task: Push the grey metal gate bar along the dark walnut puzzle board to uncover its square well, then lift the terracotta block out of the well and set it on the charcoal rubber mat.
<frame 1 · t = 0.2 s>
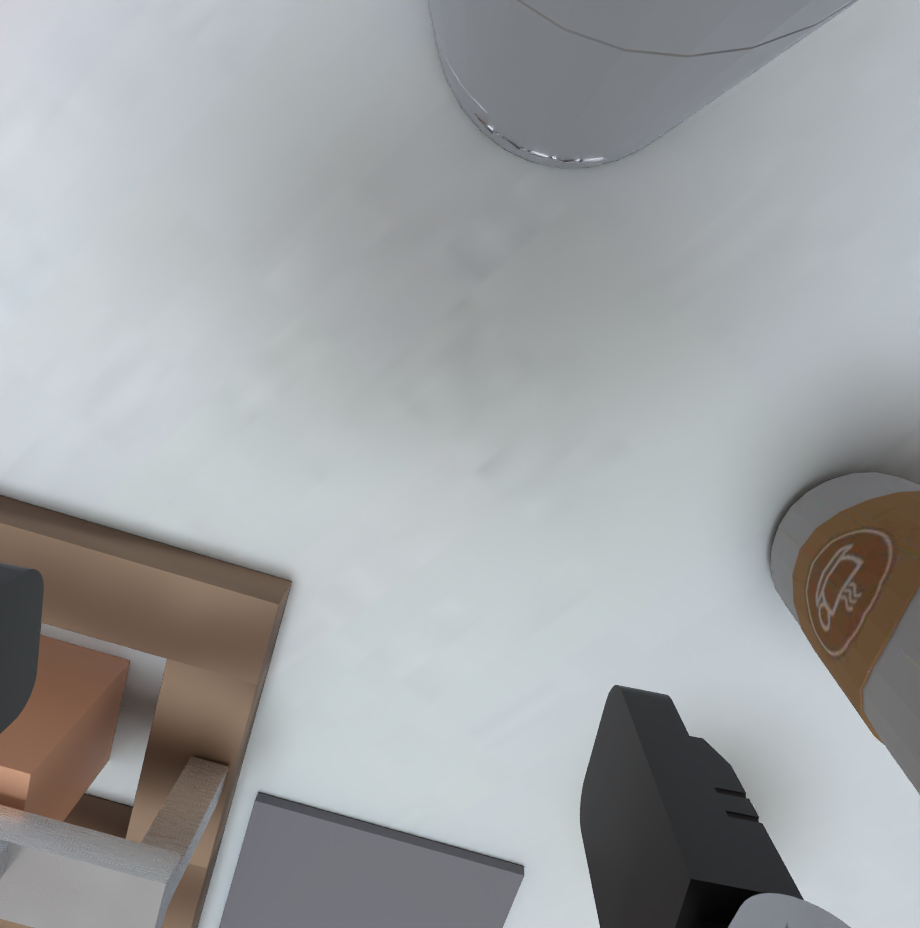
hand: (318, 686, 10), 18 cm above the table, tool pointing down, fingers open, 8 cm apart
coffee cup: (846, 545, 29), on the table
puzzle board: (38, 810, 32), on the table
terracotta block: (61, 694, 31), resting in puzzle board
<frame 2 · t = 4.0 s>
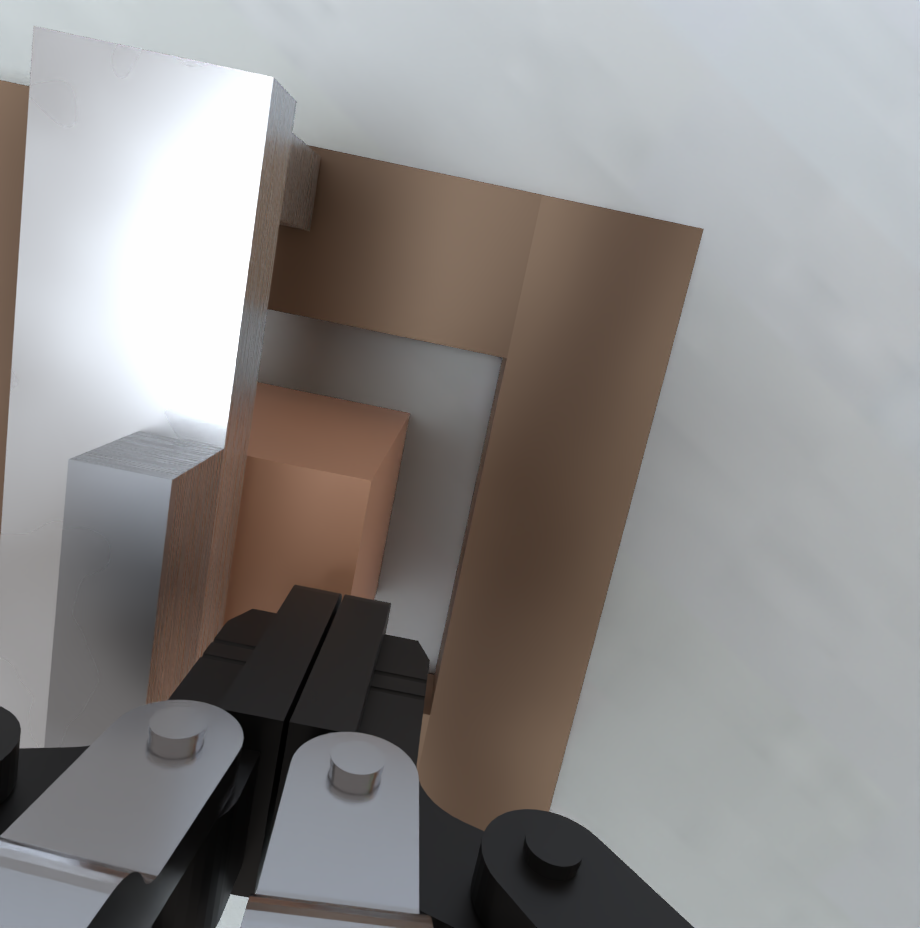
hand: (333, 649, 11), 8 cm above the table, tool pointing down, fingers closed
puzzle board: (69, 441, 19), on the table
metal gate: (162, 567, 13), point 6 cm above the table, slide at 0.9 cm, touching gripper
terracotta block: (298, 486, 19), resting in puzzle board
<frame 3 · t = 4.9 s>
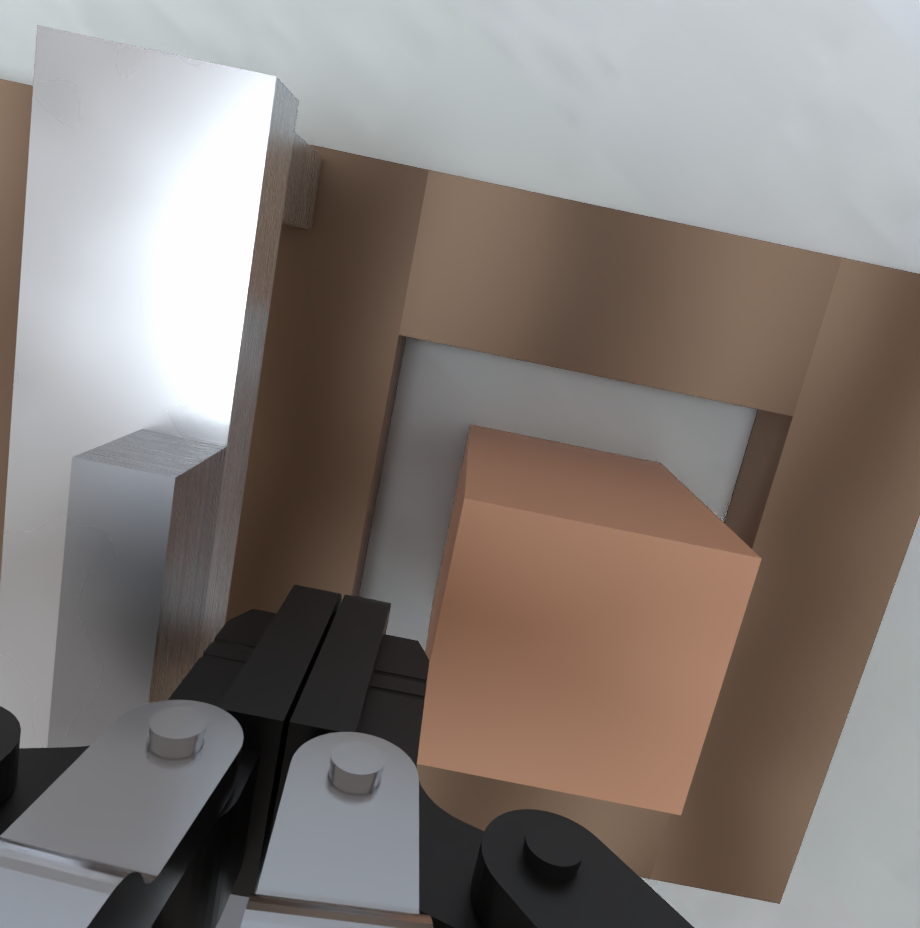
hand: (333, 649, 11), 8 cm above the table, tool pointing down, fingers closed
puzzle board: (319, 490, 19), on the table
metal gate: (164, 565, 13), point 6 cm above the table, slide at 7.5 cm, touching gripper
terracotta block: (543, 534, 20), resting in puzzle board
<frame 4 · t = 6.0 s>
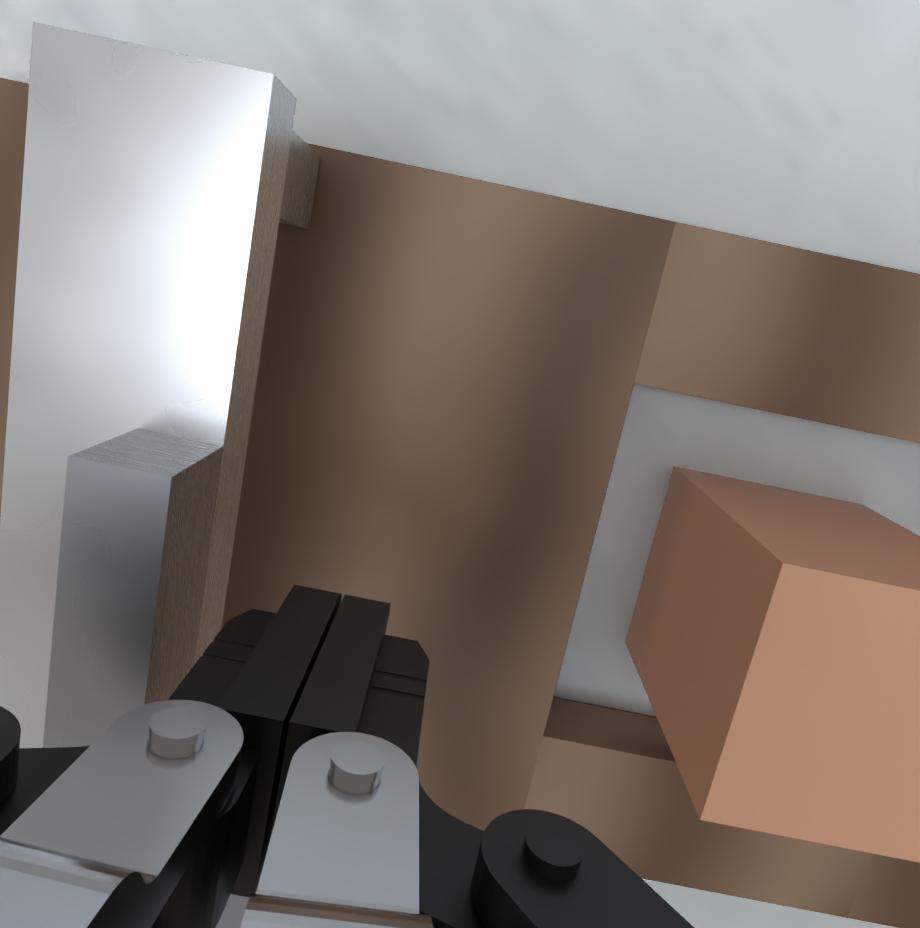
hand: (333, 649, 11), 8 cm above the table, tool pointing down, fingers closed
puzzle board: (519, 531, 19), on the table
metal gate: (161, 565, 13), point 6 cm above the table, slide at 12.8 cm, touching gripper
terracotta block: (740, 574, 20), resting in puzzle board
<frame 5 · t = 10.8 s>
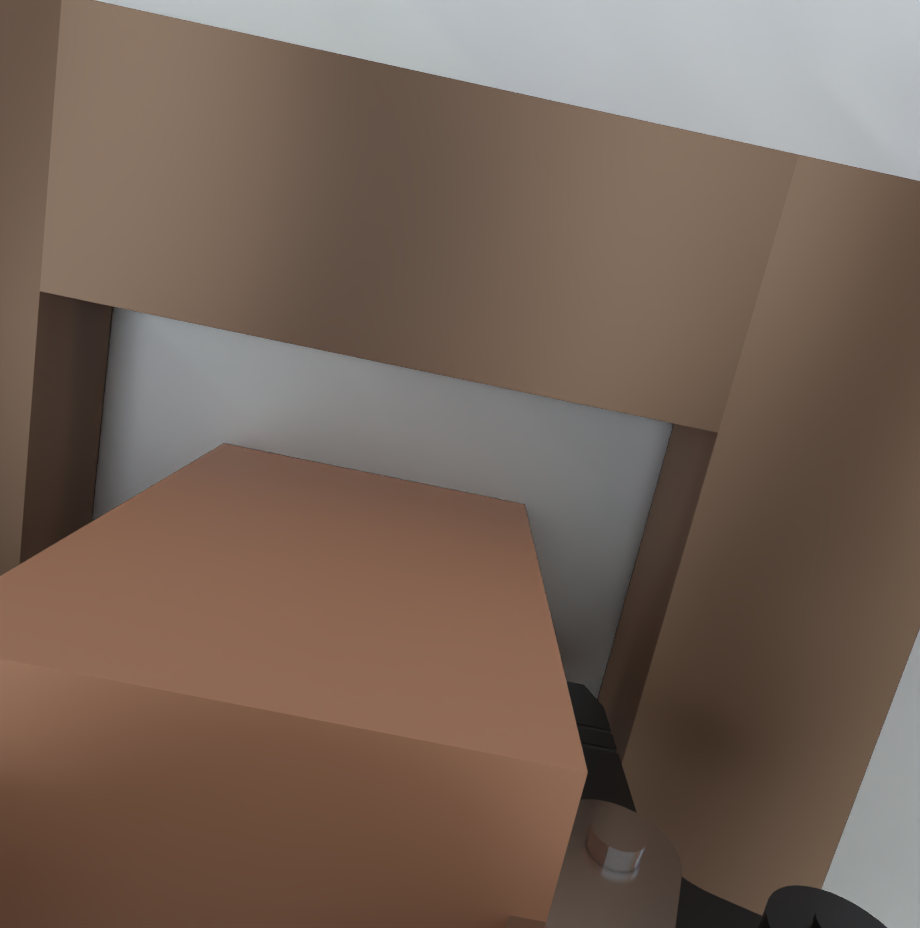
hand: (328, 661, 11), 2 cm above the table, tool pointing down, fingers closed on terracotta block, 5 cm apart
terracotta block: (349, 613, 13), resting in puzzle board, touching gripper
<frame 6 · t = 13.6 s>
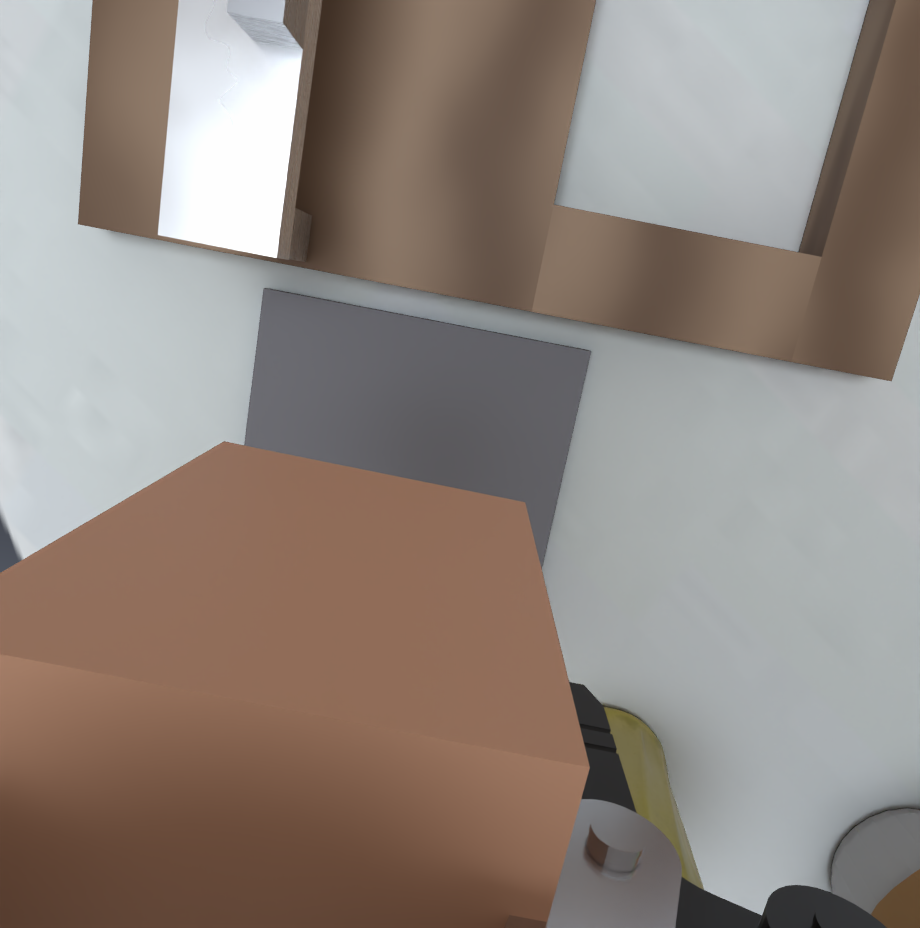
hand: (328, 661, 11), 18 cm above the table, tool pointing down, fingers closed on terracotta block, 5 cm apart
coffee cup: (897, 863, 32), on the table
puzzle board: (533, 65, 25), on the table
charcoal mat: (401, 475, 29), on the table
terracotta block: (349, 611, 13), point 16 cm above the table, touching gripper
vase: (590, 765, 31), on the table
when the fingers open (4 cm above the table, at t = 16.9 s): terracotta block drops 1 cm, resting on charcoal mat.
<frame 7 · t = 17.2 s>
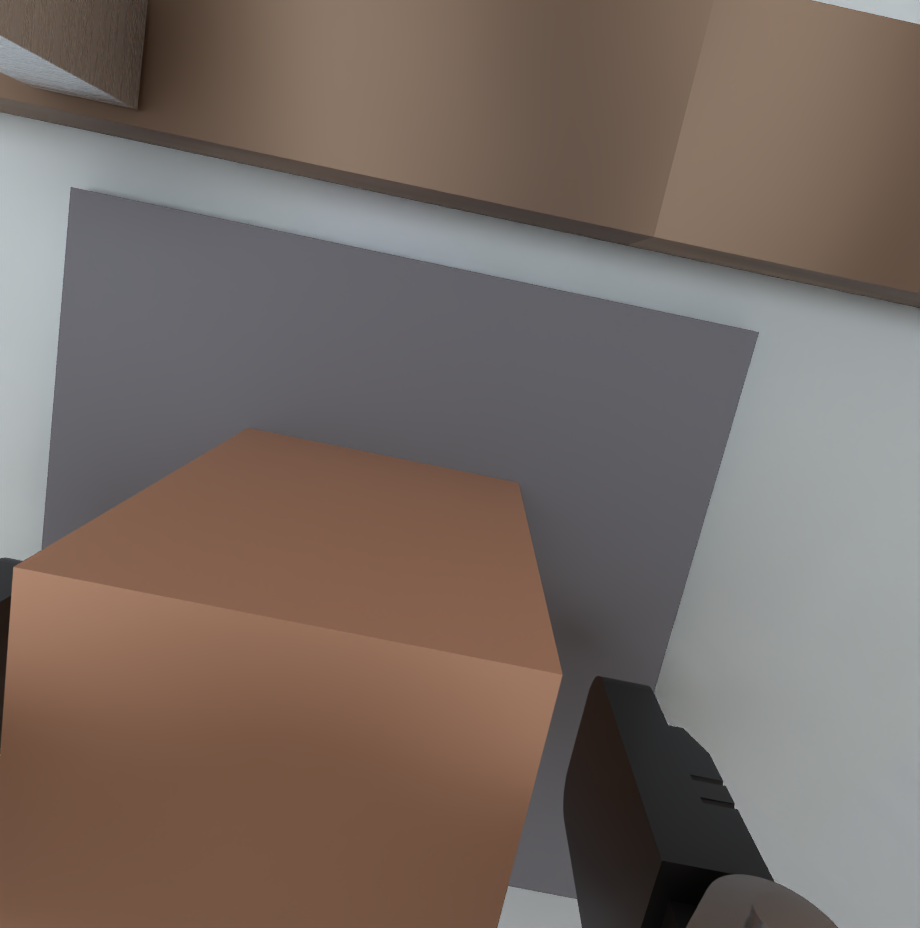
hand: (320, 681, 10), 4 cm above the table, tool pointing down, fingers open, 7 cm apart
charcoal mat: (363, 572, 15), on the table
terracotta block: (360, 581, 14), resting on charcoal mat
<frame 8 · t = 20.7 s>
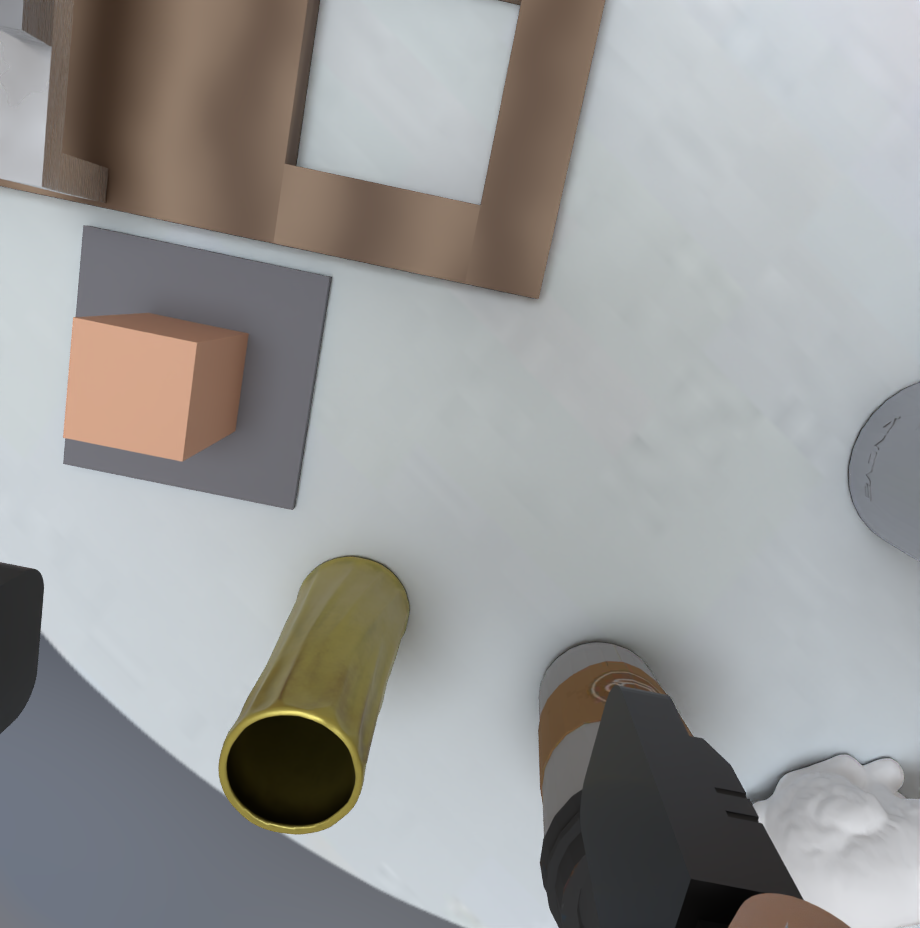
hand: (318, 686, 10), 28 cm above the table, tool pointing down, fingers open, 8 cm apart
rabbit: (849, 802, 43), on the table
coffee cup: (595, 688, 41), on the table
puzzle board: (277, 62, 34), on the table
charcoal mat: (195, 372, 38), on the table
terracotta block: (192, 372, 37), resting on charcoal mat
vase: (354, 606, 41), on the table
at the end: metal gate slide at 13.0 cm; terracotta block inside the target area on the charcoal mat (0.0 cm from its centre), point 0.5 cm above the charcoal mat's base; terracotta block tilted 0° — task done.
